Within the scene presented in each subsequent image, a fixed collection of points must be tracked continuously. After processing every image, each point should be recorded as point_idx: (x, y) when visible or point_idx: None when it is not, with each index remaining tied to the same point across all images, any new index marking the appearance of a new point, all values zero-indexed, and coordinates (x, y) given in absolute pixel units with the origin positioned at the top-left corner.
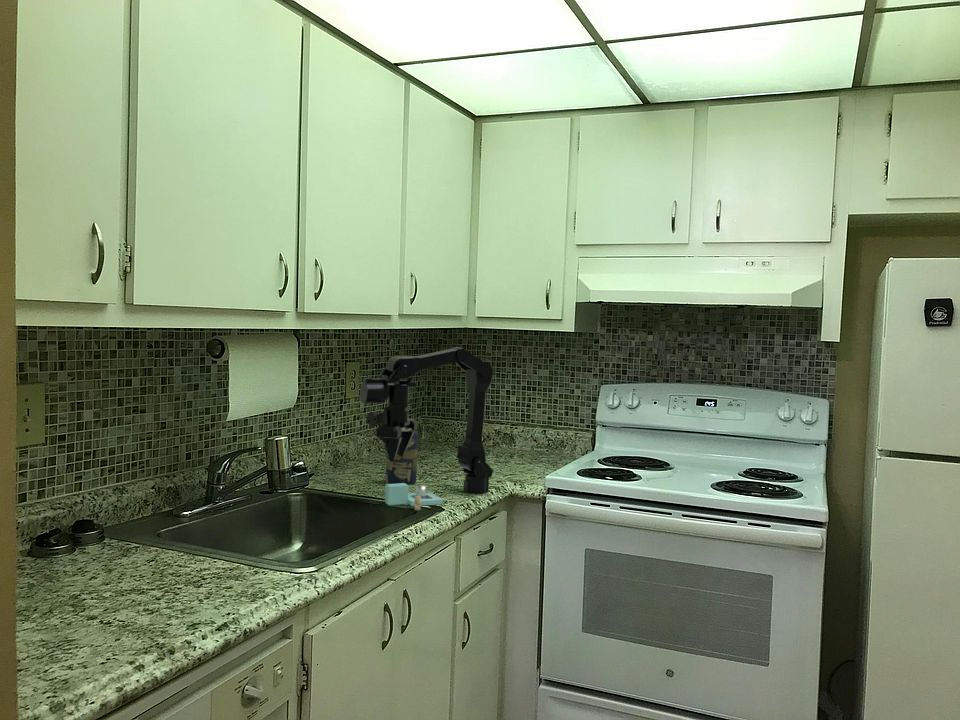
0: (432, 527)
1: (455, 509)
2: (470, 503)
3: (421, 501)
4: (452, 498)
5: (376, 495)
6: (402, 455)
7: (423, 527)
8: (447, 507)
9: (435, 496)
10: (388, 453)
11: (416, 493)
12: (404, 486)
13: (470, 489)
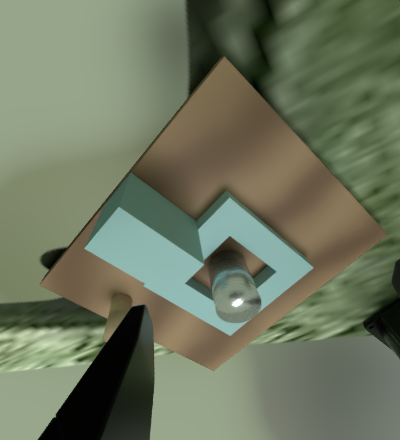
0: (34, 367)
1: None
2: (314, 337)
3: (171, 301)
4: (357, 284)
5: (314, 11)
6: (395, 289)
7: (16, 355)
8: None
9: None
10: (90, 376)
11: (217, 275)
12: (152, 285)
13: (393, 336)
